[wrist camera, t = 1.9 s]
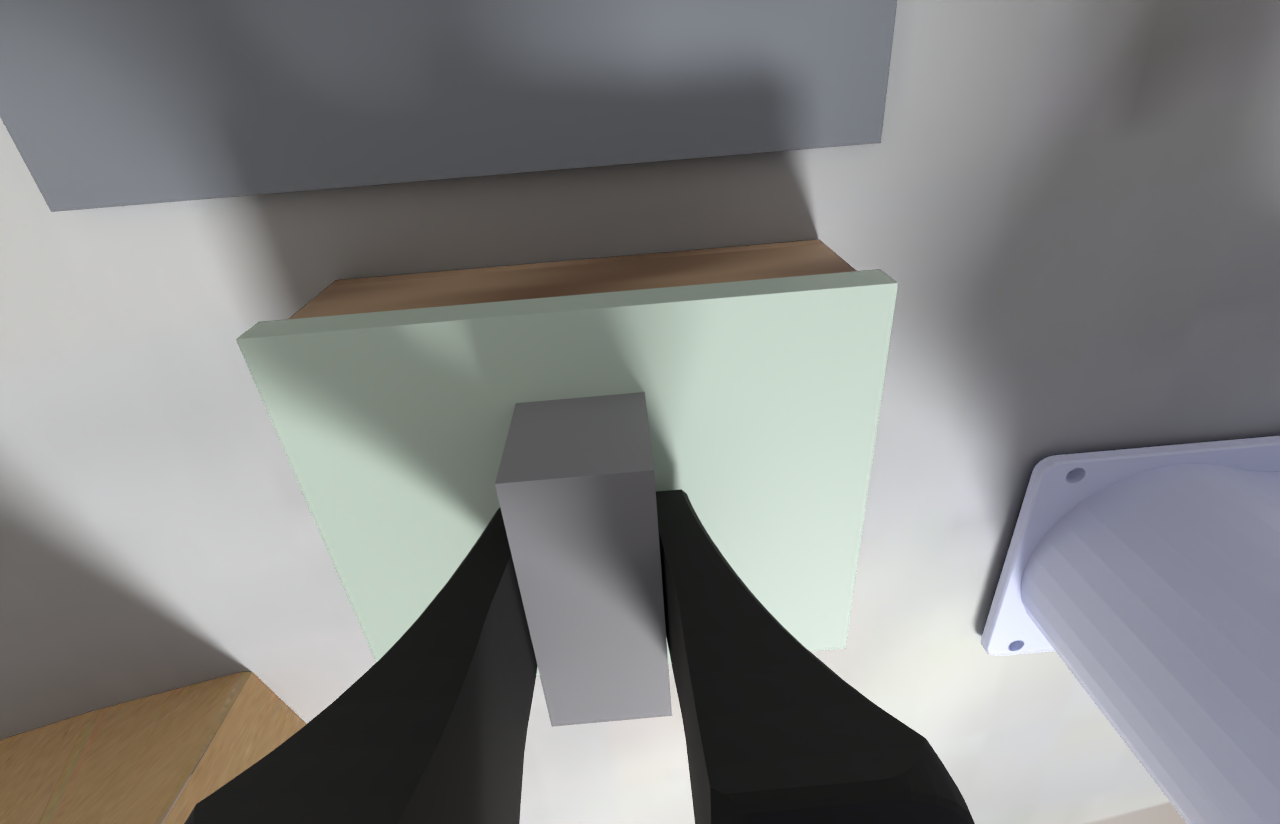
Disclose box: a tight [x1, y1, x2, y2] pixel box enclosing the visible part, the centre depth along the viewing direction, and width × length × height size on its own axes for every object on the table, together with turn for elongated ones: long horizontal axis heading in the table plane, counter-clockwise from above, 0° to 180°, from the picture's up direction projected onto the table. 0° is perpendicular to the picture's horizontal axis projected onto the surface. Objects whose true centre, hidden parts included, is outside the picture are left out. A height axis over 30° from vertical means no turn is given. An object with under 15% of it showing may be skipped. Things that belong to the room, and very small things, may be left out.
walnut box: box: [289, 239, 856, 319], centre depth 15 cm, size 11×9×3 cm
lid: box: [236, 269, 898, 726], centre depth 12 cm, size 11×9×4 cm
